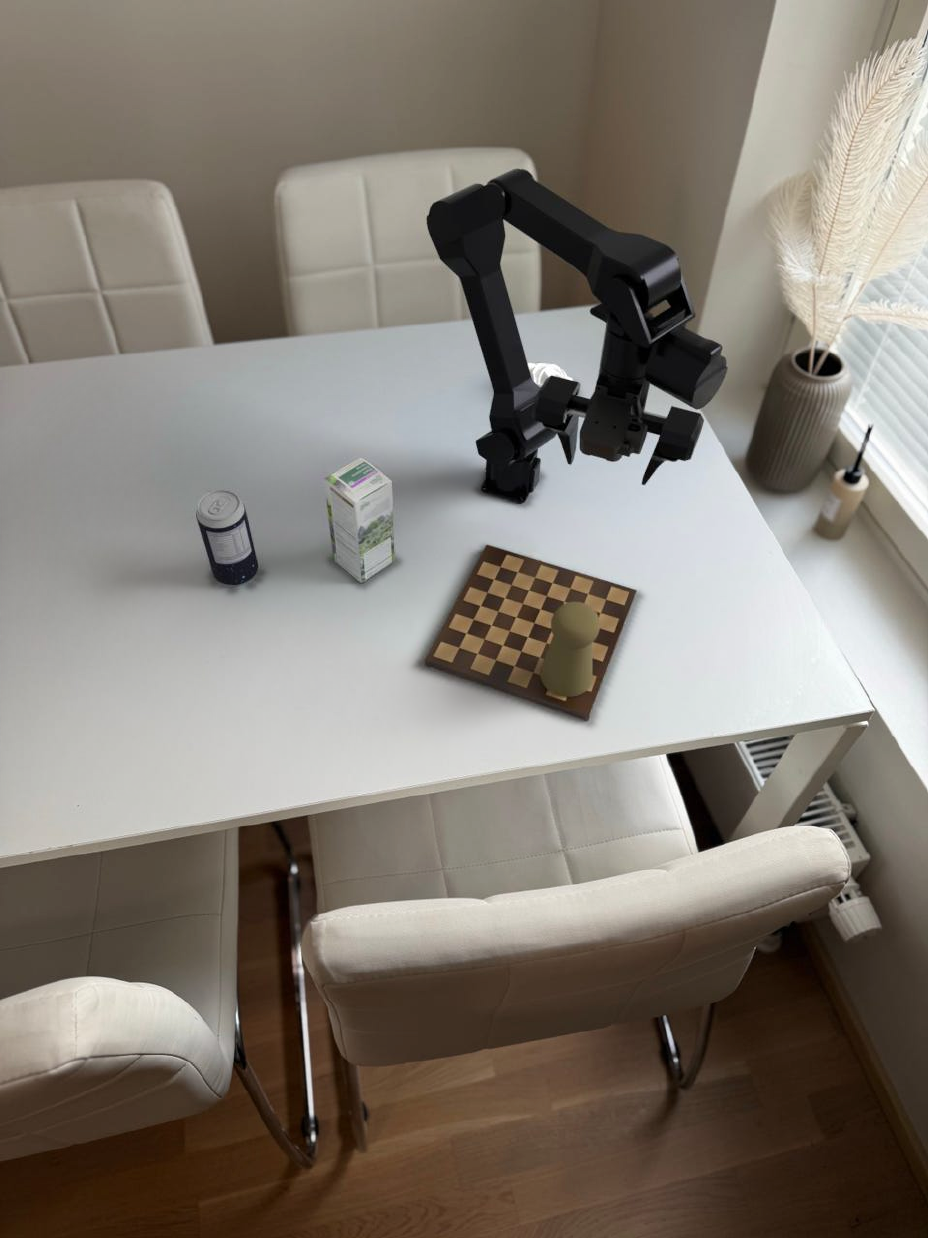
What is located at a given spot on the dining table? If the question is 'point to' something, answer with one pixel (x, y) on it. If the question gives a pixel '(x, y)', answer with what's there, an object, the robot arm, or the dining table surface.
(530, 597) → the chessboard
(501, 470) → the robot arm
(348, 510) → the syrup box
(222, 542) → the beverage can
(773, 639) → the dining table surface
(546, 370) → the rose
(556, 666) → the chess pawn
